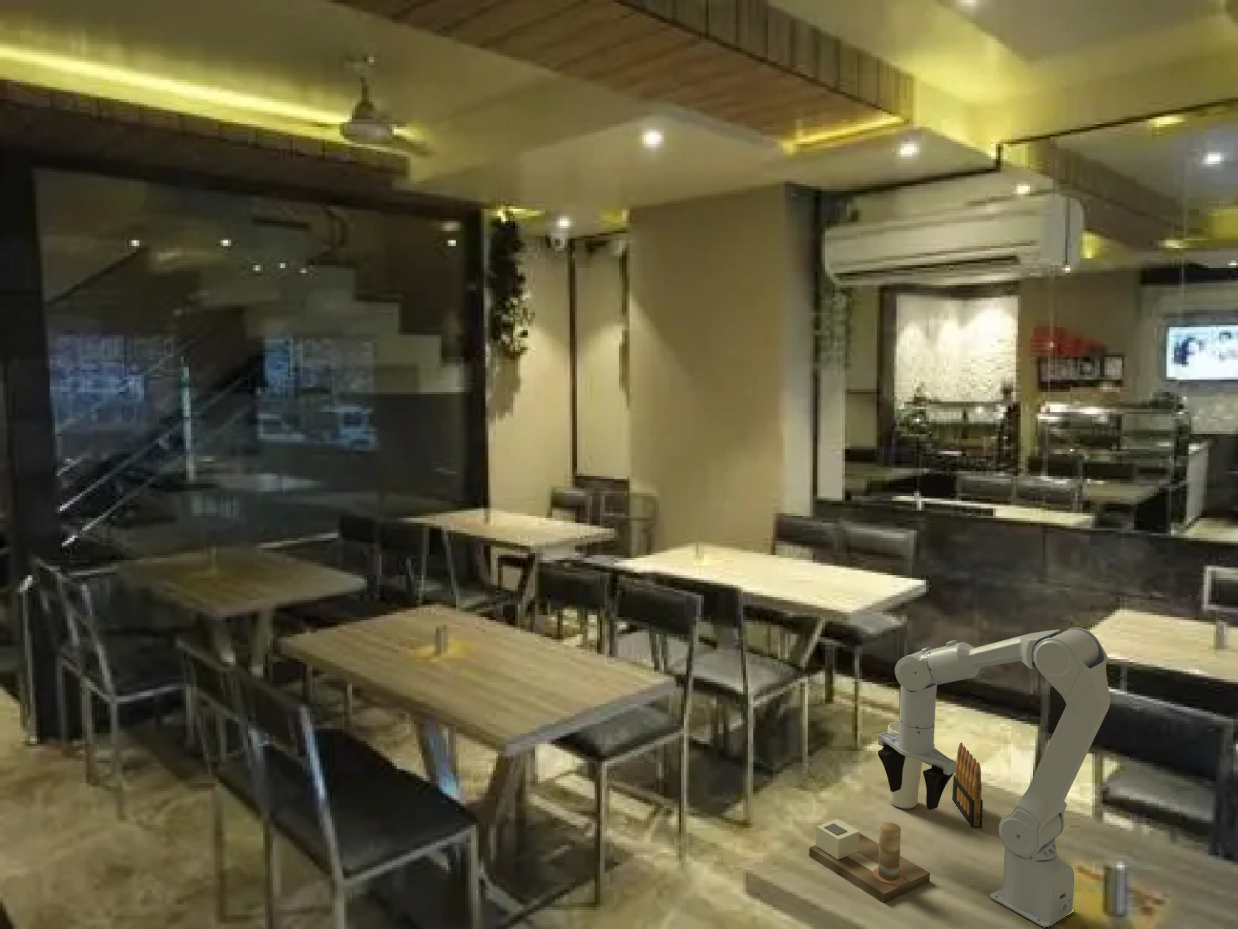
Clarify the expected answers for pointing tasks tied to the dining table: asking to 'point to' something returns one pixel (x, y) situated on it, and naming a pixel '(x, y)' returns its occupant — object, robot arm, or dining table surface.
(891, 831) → the brown upright cylinder
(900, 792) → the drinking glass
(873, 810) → the dining table surface
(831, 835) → the block
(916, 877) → the board
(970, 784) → the ammunition clip
